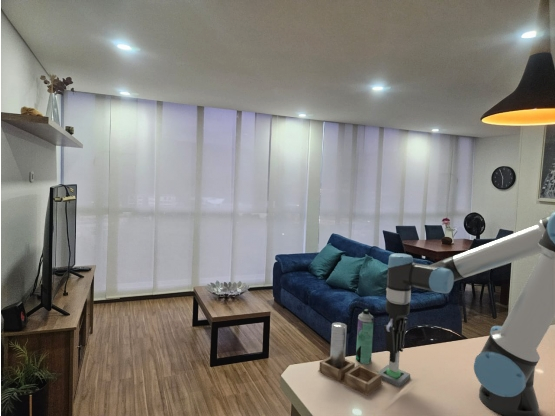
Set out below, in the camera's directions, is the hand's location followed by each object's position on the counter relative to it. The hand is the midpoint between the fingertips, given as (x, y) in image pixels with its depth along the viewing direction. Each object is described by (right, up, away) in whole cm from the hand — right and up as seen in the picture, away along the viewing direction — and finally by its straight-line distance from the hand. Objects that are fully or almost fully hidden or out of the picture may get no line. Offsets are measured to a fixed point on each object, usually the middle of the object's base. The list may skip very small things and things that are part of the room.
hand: (393, 370), depth 118 cm
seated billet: (-18, -2, +3) cm, 19 cm away
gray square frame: (0, -4, 0) cm, 4 cm away
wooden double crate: (-15, -3, -1) cm, 15 cm away
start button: (0, -3, 0) cm, 3 cm away
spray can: (-7, -3, +11) cm, 14 cm away
